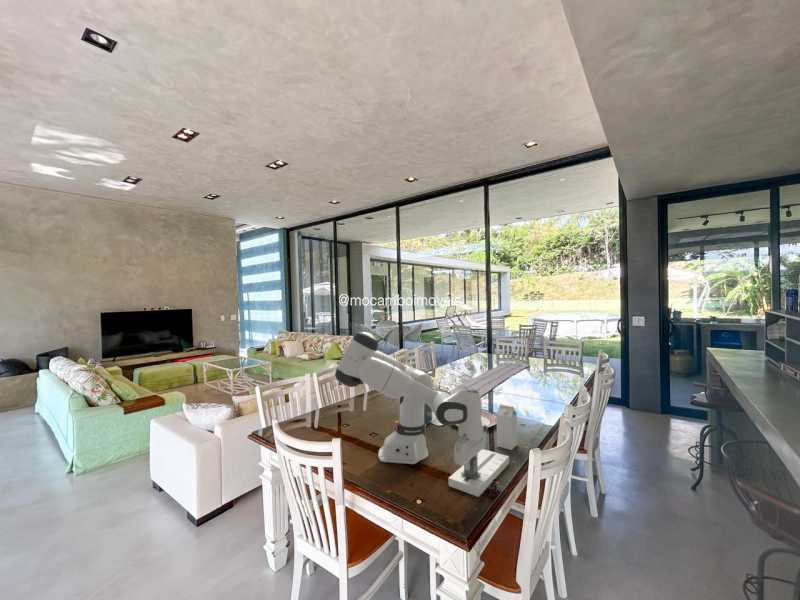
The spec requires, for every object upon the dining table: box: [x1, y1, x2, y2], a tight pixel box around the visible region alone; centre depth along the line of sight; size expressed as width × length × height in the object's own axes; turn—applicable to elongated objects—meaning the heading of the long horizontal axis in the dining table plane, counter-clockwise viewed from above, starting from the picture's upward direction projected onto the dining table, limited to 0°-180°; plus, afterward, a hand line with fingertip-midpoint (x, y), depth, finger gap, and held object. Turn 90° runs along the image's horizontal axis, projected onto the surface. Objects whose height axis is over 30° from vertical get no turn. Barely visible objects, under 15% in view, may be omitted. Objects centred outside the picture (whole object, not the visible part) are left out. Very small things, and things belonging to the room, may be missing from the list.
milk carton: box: [496, 404, 518, 451], centre depth 160 cm, size 7×7×19 cm
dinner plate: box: [455, 410, 497, 429], centre depth 190 cm, size 28×27×3 cm
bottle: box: [418, 367, 433, 424], centre depth 195 cm, size 10×10×30 cm
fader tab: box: [461, 457, 481, 479], centre depth 128 cm, size 4×6×6 cm
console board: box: [448, 448, 510, 498], centre depth 135 cm, size 30×12×3 cm, turn 142°
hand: (470, 467), depth 128 cm, fingers closed on fader tab, 3 cm apart
